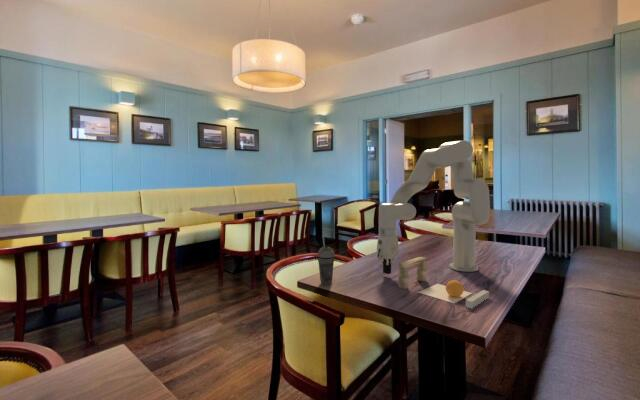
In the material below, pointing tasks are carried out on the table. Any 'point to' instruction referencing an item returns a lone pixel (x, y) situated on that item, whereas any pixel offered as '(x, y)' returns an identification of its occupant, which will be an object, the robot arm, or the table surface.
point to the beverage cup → (326, 264)
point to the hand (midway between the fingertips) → (387, 273)
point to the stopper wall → (477, 299)
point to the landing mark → (443, 293)
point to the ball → (454, 288)
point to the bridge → (405, 268)
